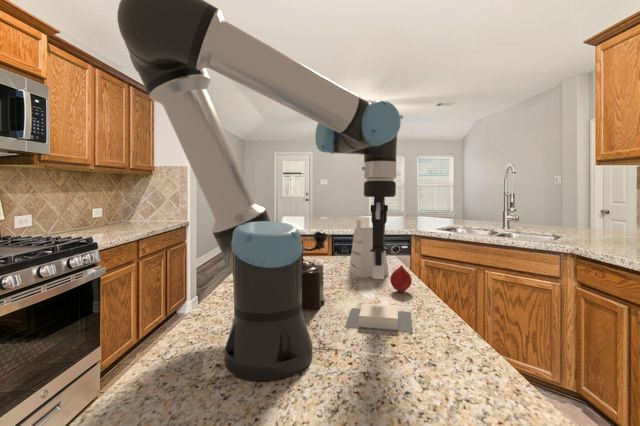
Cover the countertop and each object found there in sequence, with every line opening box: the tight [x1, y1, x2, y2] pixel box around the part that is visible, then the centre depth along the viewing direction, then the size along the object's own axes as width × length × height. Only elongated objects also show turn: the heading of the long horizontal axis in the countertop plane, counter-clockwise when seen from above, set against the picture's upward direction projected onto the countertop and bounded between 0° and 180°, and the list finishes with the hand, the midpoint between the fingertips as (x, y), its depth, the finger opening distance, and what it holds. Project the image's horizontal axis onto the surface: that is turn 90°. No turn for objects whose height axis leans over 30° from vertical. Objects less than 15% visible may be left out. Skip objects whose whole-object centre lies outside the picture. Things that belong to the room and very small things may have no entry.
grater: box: [348, 215, 390, 278], centre depth 119 cm, size 10×10×20 cm
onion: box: [389, 265, 413, 294], centre depth 96 cm, size 6×6×8 cm
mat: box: [343, 307, 414, 334], centre depth 76 cm, size 12×14×1 cm
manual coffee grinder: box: [301, 230, 328, 311], centre depth 89 cm, size 16×11×18 cm
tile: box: [359, 303, 399, 330], centre depth 74 cm, size 2×8×8 cm
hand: (378, 277), depth 82 cm, fingers closed
